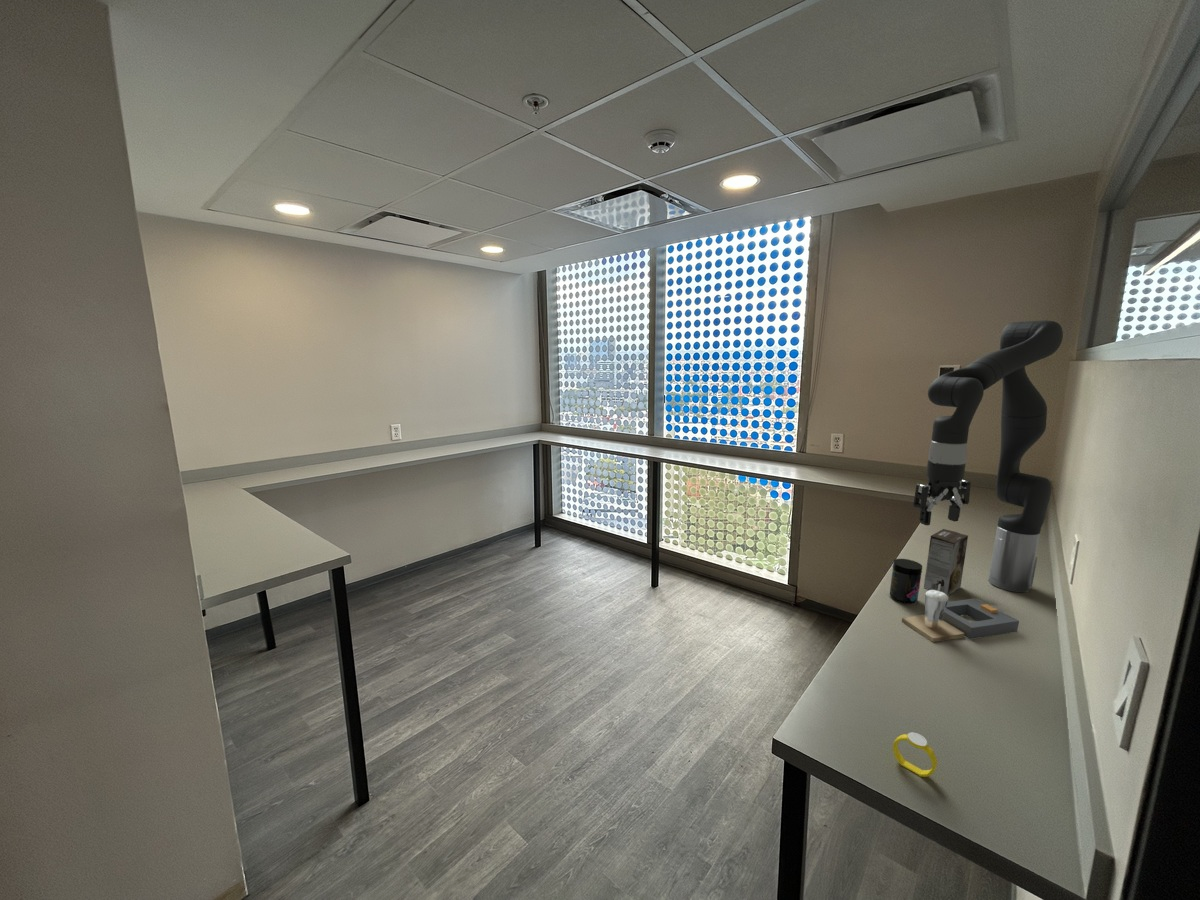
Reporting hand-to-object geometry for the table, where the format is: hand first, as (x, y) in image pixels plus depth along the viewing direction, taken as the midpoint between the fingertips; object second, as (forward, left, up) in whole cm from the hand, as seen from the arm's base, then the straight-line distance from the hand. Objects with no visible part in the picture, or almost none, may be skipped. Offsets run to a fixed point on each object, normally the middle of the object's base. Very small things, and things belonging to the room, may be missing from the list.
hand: (938, 522), depth 120 cm
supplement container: (0, -7, -25) cm, 26 cm away
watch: (+43, +40, -25) cm, 63 cm away
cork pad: (+5, +7, -25) cm, 26 cm away
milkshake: (+5, +6, -24) cm, 25 cm away
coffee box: (-16, -10, -25) cm, 32 cm away
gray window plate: (-7, +7, -25) cm, 27 cm away
